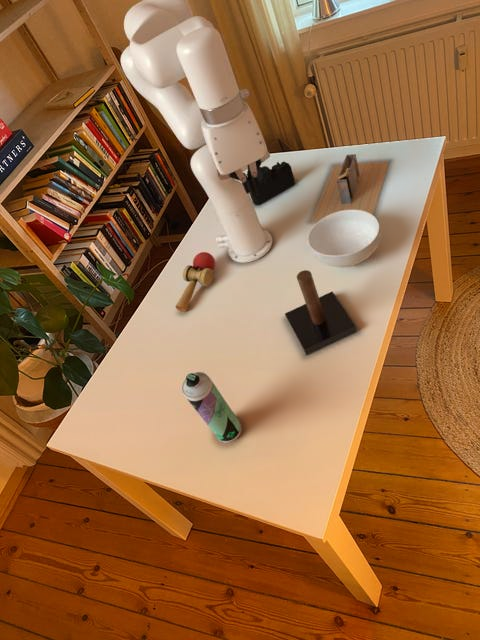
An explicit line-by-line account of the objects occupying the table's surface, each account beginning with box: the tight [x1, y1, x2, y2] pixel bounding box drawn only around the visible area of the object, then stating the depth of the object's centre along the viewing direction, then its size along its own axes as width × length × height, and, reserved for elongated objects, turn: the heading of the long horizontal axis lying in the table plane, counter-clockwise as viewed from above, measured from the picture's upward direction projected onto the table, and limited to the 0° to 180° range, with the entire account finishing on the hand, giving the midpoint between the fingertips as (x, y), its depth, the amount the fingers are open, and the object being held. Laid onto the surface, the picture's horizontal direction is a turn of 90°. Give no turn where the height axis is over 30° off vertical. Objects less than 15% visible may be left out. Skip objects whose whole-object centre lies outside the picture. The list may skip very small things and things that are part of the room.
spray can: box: [181, 371, 243, 444], centre depth 92 cm, size 6×6×20 cm
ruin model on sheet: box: [311, 153, 391, 222], centre depth 132 cm, size 25×16×10 cm, turn 159°
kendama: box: [175, 251, 216, 313], centre depth 129 cm, size 8×6×18 cm
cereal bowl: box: [307, 210, 381, 268], centre depth 118 cm, size 17×17×7 cm
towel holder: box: [284, 269, 358, 356], centre depth 104 cm, size 18×12×12 cm
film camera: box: [249, 161, 296, 206], centre depth 145 cm, size 15×10×9 cm, turn 114°
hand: (254, 192), depth 98 cm, fingers closed
